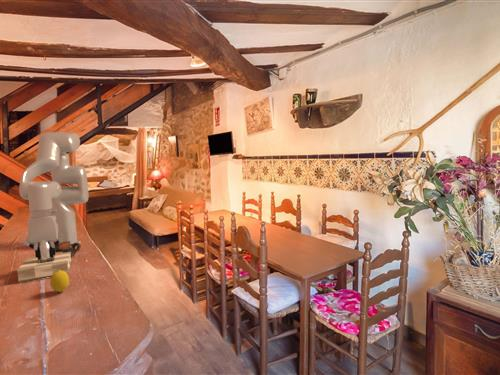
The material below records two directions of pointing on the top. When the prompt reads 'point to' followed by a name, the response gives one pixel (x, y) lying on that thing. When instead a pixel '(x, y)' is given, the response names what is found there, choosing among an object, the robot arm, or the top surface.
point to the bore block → (43, 267)
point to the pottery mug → (67, 247)
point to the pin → (45, 251)
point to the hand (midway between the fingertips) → (46, 257)
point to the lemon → (59, 281)
